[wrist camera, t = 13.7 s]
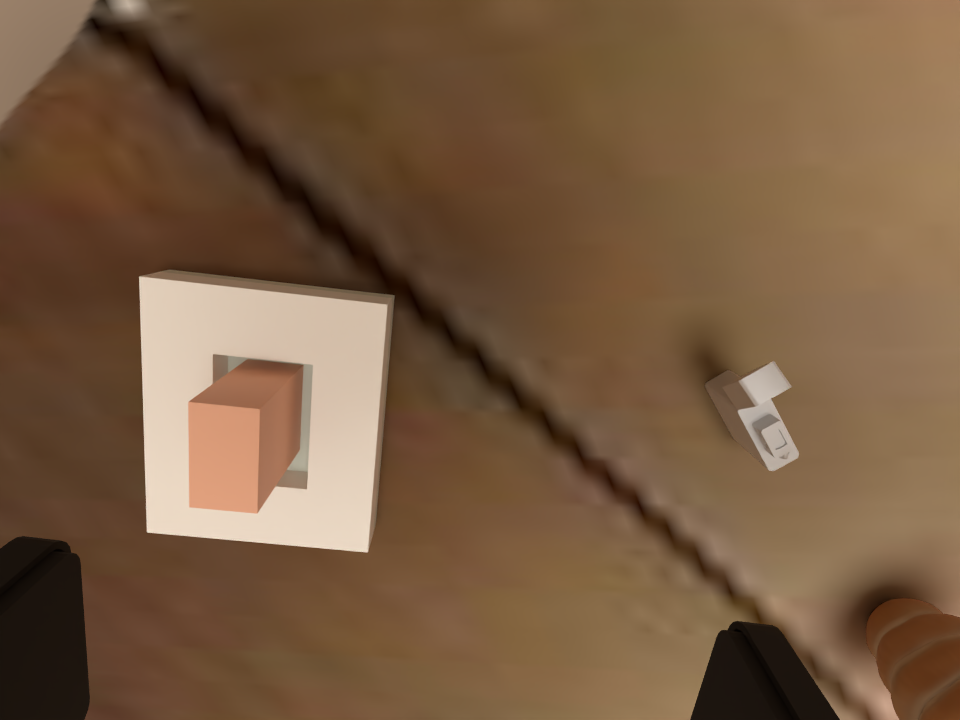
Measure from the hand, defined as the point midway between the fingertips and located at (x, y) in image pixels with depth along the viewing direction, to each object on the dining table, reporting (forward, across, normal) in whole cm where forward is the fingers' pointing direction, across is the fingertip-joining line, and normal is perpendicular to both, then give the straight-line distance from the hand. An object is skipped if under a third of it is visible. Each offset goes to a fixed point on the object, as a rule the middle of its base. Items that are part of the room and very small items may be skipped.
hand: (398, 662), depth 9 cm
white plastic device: (+25, -16, +2) cm, 30 cm away
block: (+23, +9, +6) cm, 26 cm away
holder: (+24, +9, +7) cm, 27 cm away
